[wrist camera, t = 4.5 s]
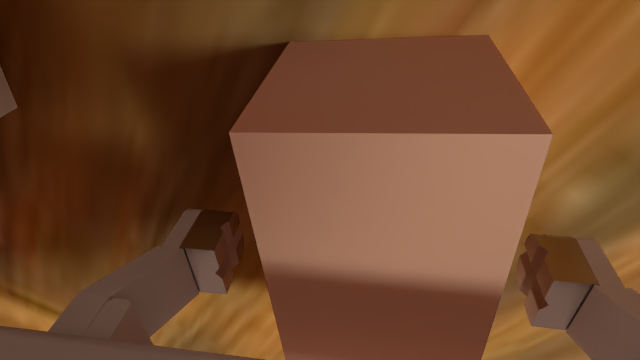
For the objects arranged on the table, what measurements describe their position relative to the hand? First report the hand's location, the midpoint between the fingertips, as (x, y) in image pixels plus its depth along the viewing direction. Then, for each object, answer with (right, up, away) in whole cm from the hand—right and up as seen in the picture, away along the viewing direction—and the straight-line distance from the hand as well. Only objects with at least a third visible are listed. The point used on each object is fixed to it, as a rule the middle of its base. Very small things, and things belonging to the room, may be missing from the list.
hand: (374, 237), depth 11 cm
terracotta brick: (0, +1, +2) cm, 2 cm away
